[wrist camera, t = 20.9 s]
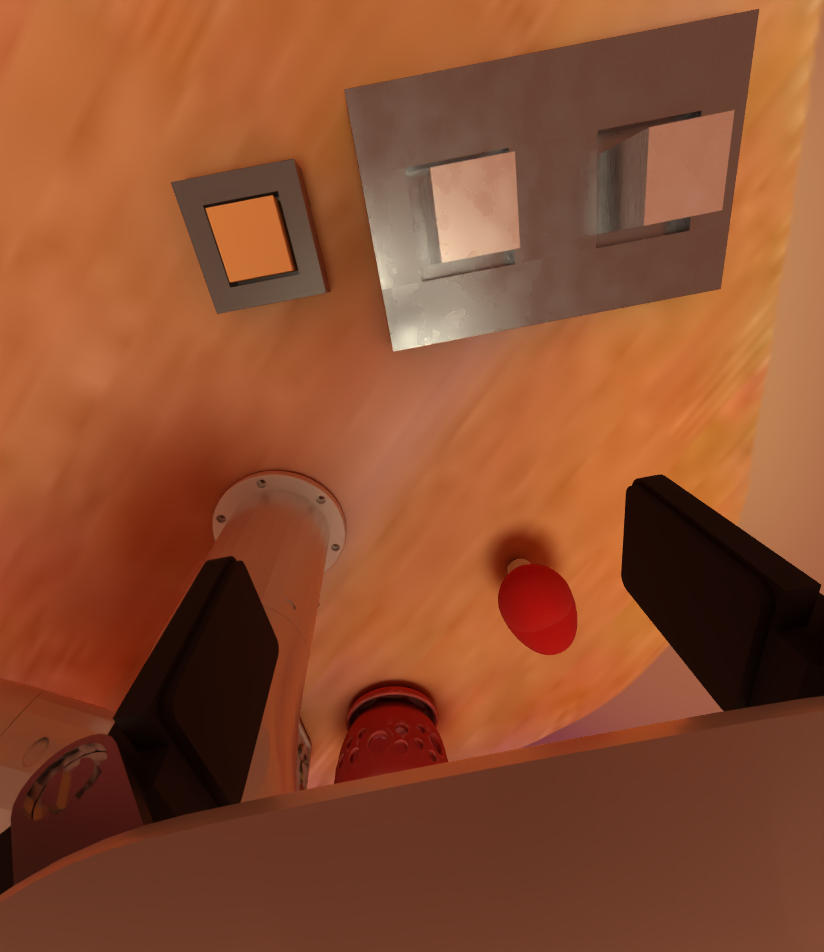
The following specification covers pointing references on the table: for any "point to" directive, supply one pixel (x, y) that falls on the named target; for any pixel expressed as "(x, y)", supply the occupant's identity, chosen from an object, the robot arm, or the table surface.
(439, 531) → the table surface
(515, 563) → the light bulb
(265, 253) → the button
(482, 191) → the seated billet
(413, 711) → the plant pot
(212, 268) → the button housing
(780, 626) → the robot arm
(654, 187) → the block
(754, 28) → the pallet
